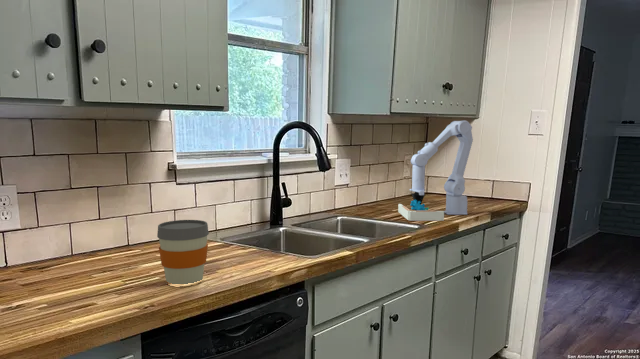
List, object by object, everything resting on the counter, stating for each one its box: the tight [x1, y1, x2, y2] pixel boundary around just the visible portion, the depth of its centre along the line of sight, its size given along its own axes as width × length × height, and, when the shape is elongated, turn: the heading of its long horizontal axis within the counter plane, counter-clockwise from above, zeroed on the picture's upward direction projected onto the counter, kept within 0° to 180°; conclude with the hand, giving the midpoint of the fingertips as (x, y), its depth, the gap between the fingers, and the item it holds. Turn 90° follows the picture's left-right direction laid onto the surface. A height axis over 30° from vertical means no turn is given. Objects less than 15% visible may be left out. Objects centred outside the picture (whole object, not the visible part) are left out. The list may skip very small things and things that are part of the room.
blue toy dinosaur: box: [410, 200, 430, 211], centre depth 210 cm, size 11×6×10 cm
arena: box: [397, 203, 445, 222], centre depth 211 cm, size 16×22×4 cm
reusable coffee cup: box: [156, 219, 210, 284], centre depth 117 cm, size 13×12×15 cm
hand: (417, 208), depth 215 cm, fingers closed
